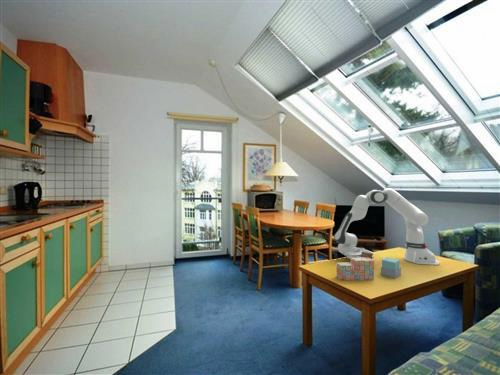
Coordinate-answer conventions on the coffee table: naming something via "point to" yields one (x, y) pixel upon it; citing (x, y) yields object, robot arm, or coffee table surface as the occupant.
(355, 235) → the robot arm
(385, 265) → the tower top
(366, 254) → the walnut block
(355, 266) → the stack of blocks
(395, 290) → the coffee table surface
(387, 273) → the tower base
